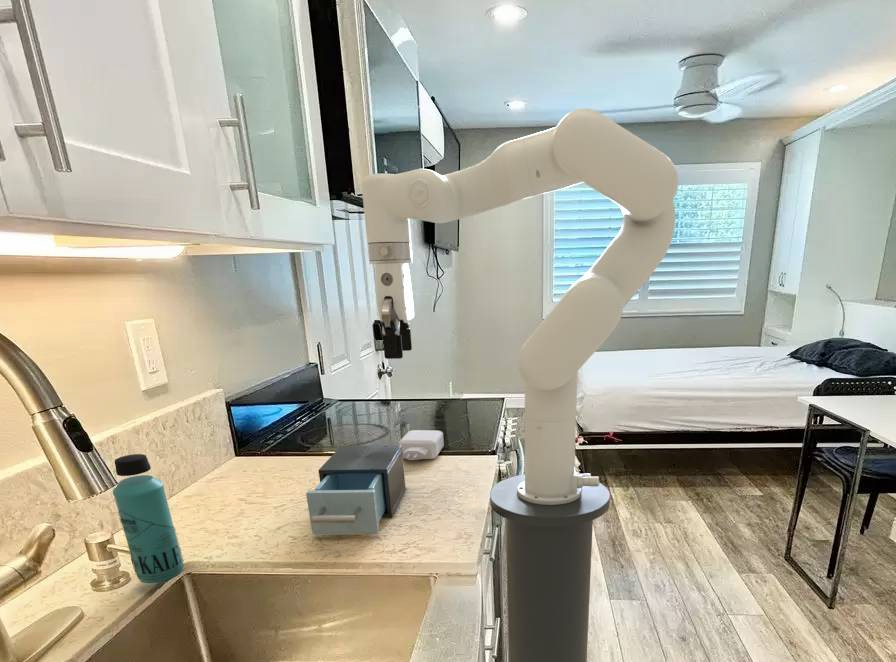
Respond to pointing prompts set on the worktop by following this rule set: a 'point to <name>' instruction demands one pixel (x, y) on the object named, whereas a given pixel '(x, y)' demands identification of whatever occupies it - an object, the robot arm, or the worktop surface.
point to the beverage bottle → (147, 521)
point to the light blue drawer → (347, 504)
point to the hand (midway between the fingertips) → (399, 354)
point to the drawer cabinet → (371, 468)
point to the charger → (421, 444)
